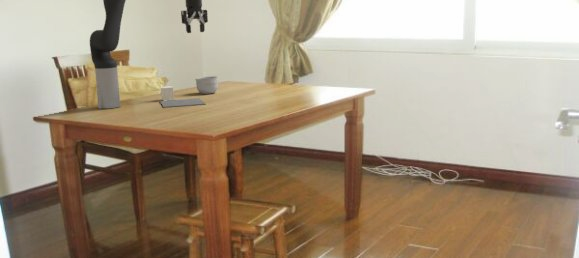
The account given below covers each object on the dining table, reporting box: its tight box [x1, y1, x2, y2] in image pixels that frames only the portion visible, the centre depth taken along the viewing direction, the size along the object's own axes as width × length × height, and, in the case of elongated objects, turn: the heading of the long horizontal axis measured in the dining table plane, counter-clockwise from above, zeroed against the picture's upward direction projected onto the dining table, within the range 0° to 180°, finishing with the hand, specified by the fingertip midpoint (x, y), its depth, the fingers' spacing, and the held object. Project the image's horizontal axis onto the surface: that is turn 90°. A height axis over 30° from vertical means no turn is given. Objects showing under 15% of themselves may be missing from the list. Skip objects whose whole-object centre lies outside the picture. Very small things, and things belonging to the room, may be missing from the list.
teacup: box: [195, 75, 219, 95], centre depth 297 cm, size 14×11×8 cm
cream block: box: [160, 85, 175, 101], centre depth 278 cm, size 5×5×6 cm
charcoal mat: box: [159, 97, 206, 108], centre depth 267 cm, size 18×18×1 cm
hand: (195, 32), depth 285 cm, fingers open, 7 cm apart
